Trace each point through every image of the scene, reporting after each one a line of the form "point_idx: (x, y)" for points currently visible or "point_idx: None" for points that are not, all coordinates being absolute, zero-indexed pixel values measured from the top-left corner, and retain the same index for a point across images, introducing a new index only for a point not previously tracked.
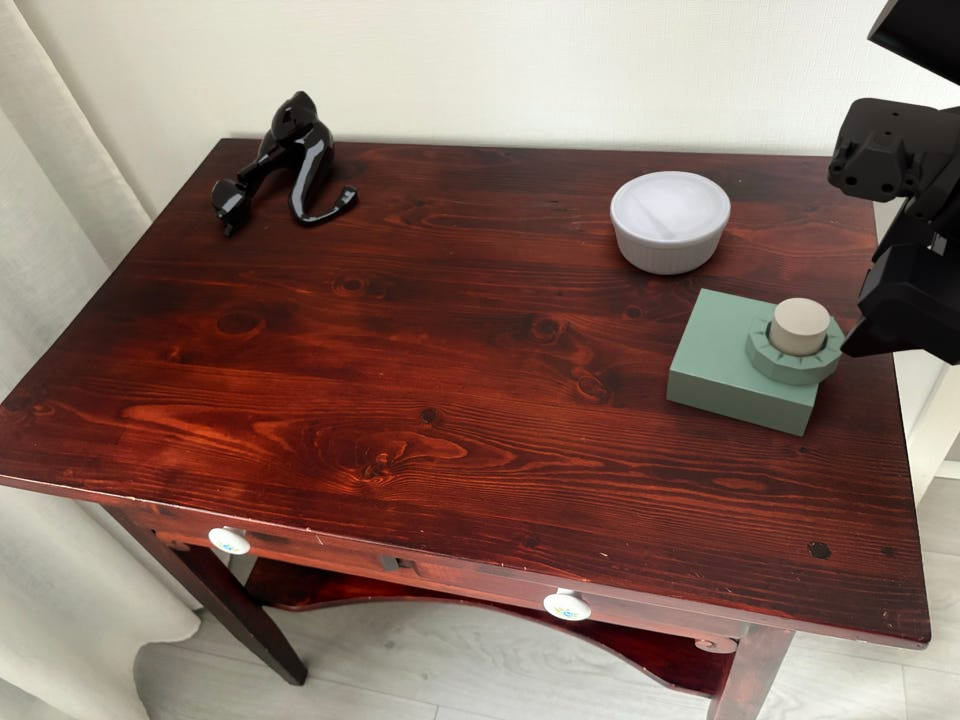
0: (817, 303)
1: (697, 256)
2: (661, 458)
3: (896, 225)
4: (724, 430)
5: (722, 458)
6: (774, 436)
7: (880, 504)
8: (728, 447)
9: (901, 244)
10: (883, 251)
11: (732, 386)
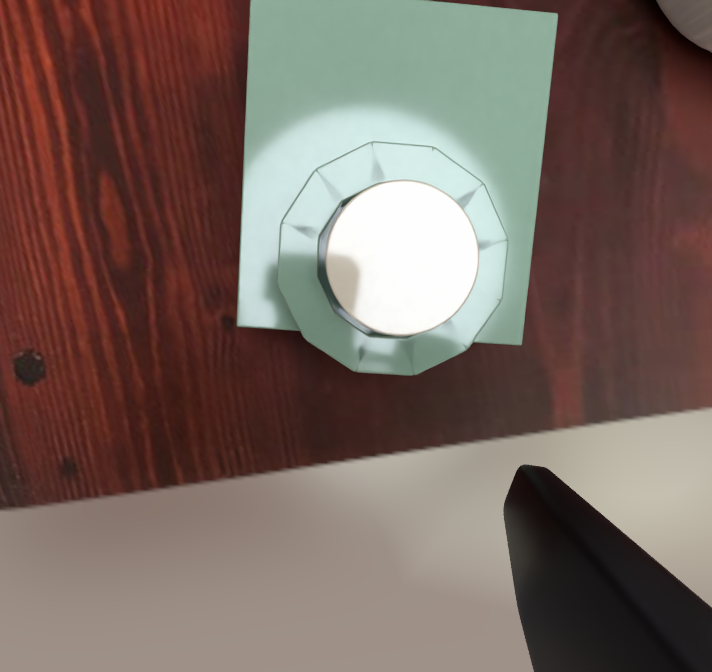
0: (464, 295)
1: (699, 2)
2: (119, 65)
3: (656, 666)
4: (227, 175)
5: (160, 182)
6: None
7: (155, 452)
8: (189, 189)
9: (566, 630)
10: (543, 528)
11: (244, 146)
